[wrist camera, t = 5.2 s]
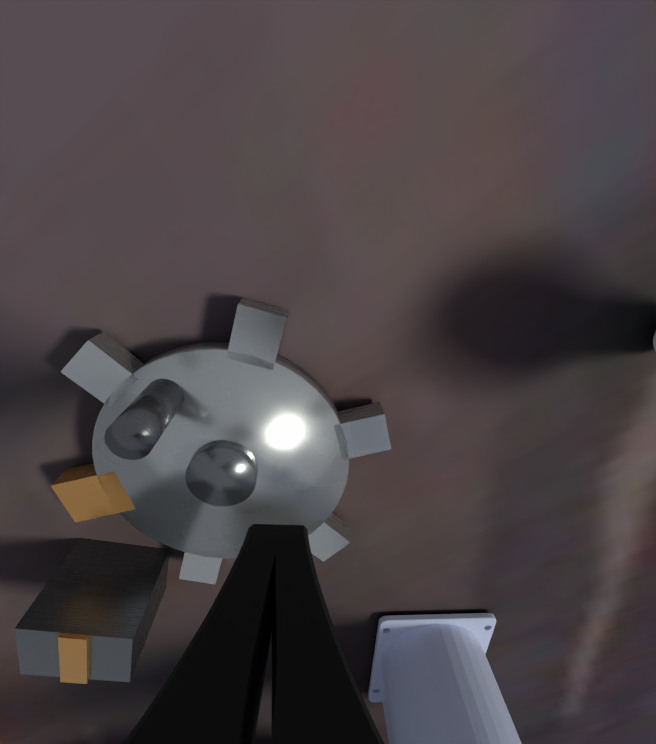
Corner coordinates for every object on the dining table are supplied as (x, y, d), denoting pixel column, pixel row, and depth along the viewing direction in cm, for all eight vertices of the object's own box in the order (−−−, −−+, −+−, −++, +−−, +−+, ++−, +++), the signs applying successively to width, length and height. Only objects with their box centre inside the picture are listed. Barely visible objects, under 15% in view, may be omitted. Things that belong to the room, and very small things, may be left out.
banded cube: (165, 587, 23) (127, 687, 18) (80, 578, 22) (17, 678, 17) (170, 548, 21) (130, 643, 17) (79, 537, 21) (11, 633, 16)
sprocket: (447, 404, 18) (491, 463, 14) (288, 597, 23) (283, 685, 19) (133, 219, 14) (56, 220, 10) (21, 500, 19) (-63, 583, 15)
